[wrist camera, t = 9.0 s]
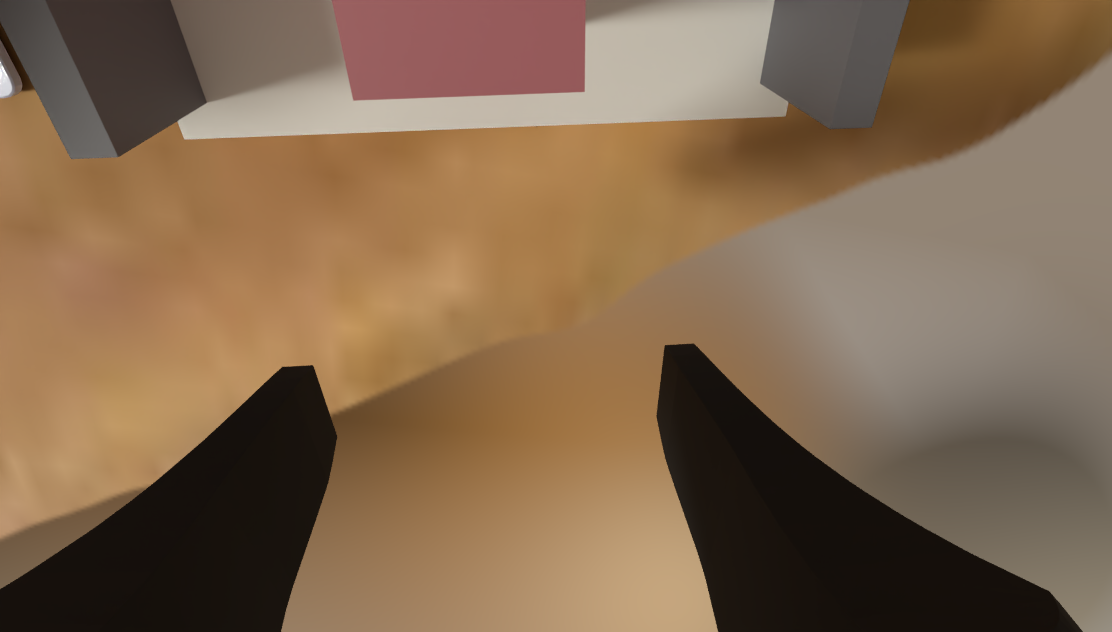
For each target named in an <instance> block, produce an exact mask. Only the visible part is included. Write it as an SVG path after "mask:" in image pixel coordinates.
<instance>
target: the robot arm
mask: <svg viewBox="0 0 1112 632" xmlns="http://www.w3.org/2000/svg"><path fill="white" fill-rule="evenodd" d="M21 90H22V82H21V78H20V76H19V74H18V72H17V70H16V69H15V67H14V65H13V63H12V61H11V59H10V57H9V55H8V53H7V51H6V49H5V48H4V46H3V44H2V42H1V40H0V98H7V97H11V96H13V95H16V94H18V93H19V92H20V91H21ZM657 421H658V426H659V431H660V436H661V441H662V445H663V450H664V454H665V459H666V462H667V465H668V468H669V471H670V474H671V477H672V480H673V483H674V486H675V489H676V492H677V495H678V498H679V500H680V503H681V506H682V509H683V512H684V515H685V518H686V520H687V523H688V526H689V529H690V532H691V535H692V538H693V541H694V543H695V547H696V549H697V552H698V555H699V558H700V562H701V565H702V568H703V572H704V575H705V579H706V583H707V586H708V591H709V595H710V599H711V604H712V608H713V612H714V616H715V620H716V624H717V629H718V632H1083V631H1082V630H1081V629H1080V628H1079V626H1078V625H1077V624H1076V623H1075V621H1074V620H1073V619H1072V618H1071V617H1070V615H1069V614H1068V613H1067V612H1066V610H1065V609H1064V608H1063V607H1062V606H1061V604H1060V603H1059V602H1058V601H1057V600H1056V599H1055V597H1054V596H1053V595H1052V594H1051V593H1050V592H1049V591H1048V590H1045V589H1043V588H1041V587H1039V586H1037V585H1035V584H1033V583H1031V582H1029V581H1026V580H1025V579H1023V578H1020V577H1018V576H1016V575H1014V574H1012V573H1010V572H1008V571H1006V570H1004V569H1002V568H1000V567H998V566H996V565H994V564H992V563H989V562H987V561H985V560H983V559H981V558H979V557H977V556H974V555H973V554H971V553H969V552H967V551H965V550H963V549H962V548H960V547H958V546H956V545H954V544H952V543H951V542H949V541H947V540H945V539H943V538H941V537H940V536H938V535H936V534H934V533H932V532H930V531H928V530H927V529H925V528H923V527H922V526H920V525H918V524H916V523H915V522H913V521H911V520H910V519H908V518H906V517H904V516H903V515H901V514H899V513H898V512H896V511H894V510H893V509H891V508H890V507H888V506H887V505H885V504H883V503H882V502H880V501H879V500H877V499H875V498H874V497H872V496H871V495H869V494H868V493H866V492H864V491H863V490H862V489H860V488H859V487H857V486H856V485H854V484H852V483H851V482H849V481H848V480H847V479H845V478H844V477H842V476H841V475H840V474H838V473H837V472H836V471H834V470H833V469H831V468H830V467H829V466H827V465H826V464H824V463H823V462H822V461H821V460H819V459H818V458H816V457H815V456H814V455H812V454H811V453H810V452H809V451H807V450H806V449H805V448H804V447H802V446H801V445H800V444H799V443H797V442H796V441H795V440H794V439H793V438H791V437H790V436H789V435H788V434H787V433H785V432H784V431H783V430H782V429H781V428H779V427H778V426H777V425H776V424H775V423H774V422H772V420H771V419H769V418H768V417H767V416H766V415H765V414H764V413H763V412H762V411H761V410H760V409H759V408H758V407H756V405H754V404H753V403H752V402H751V401H750V400H749V399H748V398H747V397H746V396H745V395H744V394H743V393H742V392H741V391H740V390H739V389H737V387H736V386H735V385H734V384H733V383H732V382H731V381H730V380H729V379H728V378H727V377H726V376H725V375H724V374H723V373H722V372H721V371H720V370H719V369H718V368H717V367H716V366H715V365H714V364H713V363H712V362H711V361H710V360H709V359H708V358H707V356H706V355H705V354H704V353H703V352H702V351H700V349H699V348H698V347H697V346H696V345H695V344H679V345H665V348H664V356H663V365H662V374H661V382H660V391H659V400H658V409H657ZM336 440H337V435H336V432H335V428H334V426H333V423H332V420H331V417H330V414H329V411H328V408H327V405H326V402H325V399H324V396H323V393H322V390H321V387H320V384H319V381H318V378H317V375H316V373H315V370H314V367H313V365H310V366H293V367H282V368H281V369H280V370H279V371H277V372H276V373H275V374H274V375H273V376H272V377H271V378H270V379H269V380H268V381H266V382H265V383H264V384H263V385H262V386H261V387H260V388H259V389H258V390H257V391H256V392H255V393H254V394H253V395H252V396H251V397H250V398H249V399H248V400H246V401H245V402H244V403H243V404H242V405H241V406H240V407H239V408H238V409H237V410H236V411H235V412H234V413H233V414H232V415H231V416H230V417H228V418H227V419H226V420H225V421H224V422H223V423H222V424H221V425H220V426H219V427H218V428H217V429H215V430H214V431H213V432H212V433H211V434H210V435H209V436H208V437H207V438H206V439H205V440H204V441H202V442H201V443H200V444H199V445H198V446H197V447H195V448H194V449H193V450H192V451H191V452H190V453H188V454H187V455H186V456H185V457H184V458H183V459H181V460H180V461H179V462H178V463H177V464H176V465H174V466H173V467H172V468H171V469H170V470H169V471H167V472H166V473H165V474H164V475H163V476H162V477H160V478H159V479H158V480H157V481H156V482H154V483H153V484H152V485H151V486H149V487H148V488H147V489H146V490H144V491H143V492H142V493H141V494H139V495H138V496H137V497H135V498H134V499H133V500H132V501H130V502H129V503H128V504H126V505H125V506H124V507H122V508H121V509H120V510H118V511H117V512H115V513H114V514H113V515H112V516H110V517H109V518H107V519H106V520H105V521H103V522H102V523H101V524H99V525H98V526H96V527H95V528H94V529H92V530H91V531H89V532H88V533H87V534H85V535H83V536H82V537H80V538H79V539H77V540H76V541H74V542H73V543H71V544H70V545H68V546H67V547H65V548H64V549H62V550H61V551H59V552H58V553H56V554H55V555H53V556H52V557H50V558H49V559H47V560H46V561H44V562H43V563H41V564H40V565H38V566H37V567H35V568H34V569H32V570H30V571H29V572H27V573H26V574H24V575H23V576H21V577H20V578H18V579H16V580H15V581H13V582H11V583H10V584H8V585H6V586H5V587H3V588H1V589H0V632H281V629H282V624H283V620H284V616H285V612H286V608H287V605H288V601H289V598H290V594H291V591H292V588H293V585H294V581H295V579H296V576H297V573H298V570H299V567H300V564H301V561H302V559H303V556H304V553H305V550H306V547H307V544H308V541H309V538H310V535H311V532H312V529H313V527H314V524H315V521H316V517H317V515H318V512H319V509H320V506H321V503H322V500H323V497H324V494H325V491H326V488H327V484H328V481H329V476H330V472H331V467H332V462H333V456H334V451H335V446H336Z"/></svg>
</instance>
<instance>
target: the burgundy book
mask: <svg viewBox="0 0 1112 632" xmlns="http://www.w3.org/2000/svg"><path fill="white" fill-rule="evenodd" d="M332 4H333V9H334V14H335V18H336V23H337V27H338V32H339V37H340V41H341V46H342V51H343V55H344V60H345V65H346V69H347V74H348V79H349V83H350V88H351V93H352V97H353V101H357V100H384V99H411V98H438V97H464V96H491V95H518V94H544V93H571V92H585V13H586V0H332Z"/></svg>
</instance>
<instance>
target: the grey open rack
mask: <svg viewBox="0 0 1112 632" xmlns="http://www.w3.org/2000/svg"><path fill="white" fill-rule="evenodd" d="M909 1H910V0H586V13H585V92H571V93H544V94H518V95H491V96H464V97H438V98H411V99H384V100H357V101H353V97H352V93H351V88H350V83H349V79H348V74H347V69H346V65H345V60H344V55H343V51H342V46H341V41H340V37H339V32H338V27H337V23H336V18H335V14H334V9H333V4H332V0H0V22H1V24H2V26H3V28H4V30H5V32H6V34H7V36H8V38H9V40H10V42H11V44H12V46H13V48H14V50H15V52H16V53H17V55H18V57H19V59H20V61H21V63H22V65H23V67H24V69H25V71H26V73H27V75H28V77H29V79H30V81H31V83H32V84H33V86H34V88H35V90H36V92H37V94H38V96H39V98H40V100H41V102H42V104H43V106H44V108H45V110H46V112H47V114H48V115H49V117H50V119H51V121H52V123H53V125H54V127H55V129H56V131H57V133H58V135H59V137H60V139H61V141H62V143H63V144H64V146H65V148H66V150H67V152H68V154H69V156H70V158H71V159H83V158H108V157H119V156H121V155H123V154H124V153H126V152H128V151H129V150H131V149H132V148H134V147H136V146H137V145H139V144H141V143H142V142H144V141H145V140H147V139H149V138H150V137H152V136H154V135H155V134H157V133H159V132H160V131H162V130H163V129H165V128H167V127H168V126H170V125H172V124H173V123H175V122H177V121H178V124H179V127H180V129H181V132H182V134H183V137H184V139H208V138H234V137H260V136H287V135H313V134H339V133H365V132H391V131H418V130H444V129H470V128H496V127H522V126H549V125H575V124H601V123H627V122H653V121H680V120H706V119H732V118H758V117H784V116H786V112H787V107H788V102H789V103H791V104H792V105H794V106H795V107H797V108H798V109H800V110H801V111H803V112H805V113H806V114H808V115H809V116H811V117H812V118H814V119H815V120H817V121H818V122H820V123H821V124H823V125H824V126H826V127H828V128H829V129H845V128H870V127H872V125H873V122H874V118H875V115H876V112H877V108H878V105H879V102H880V98H881V95H882V91H883V88H884V85H885V81H886V78H887V75H888V71H889V68H890V65H891V61H892V58H893V54H894V51H895V48H896V44H897V41H898V38H899V34H900V31H901V28H902V24H903V21H904V18H905V14H906V11H907V7H908V4H909Z"/></svg>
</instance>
